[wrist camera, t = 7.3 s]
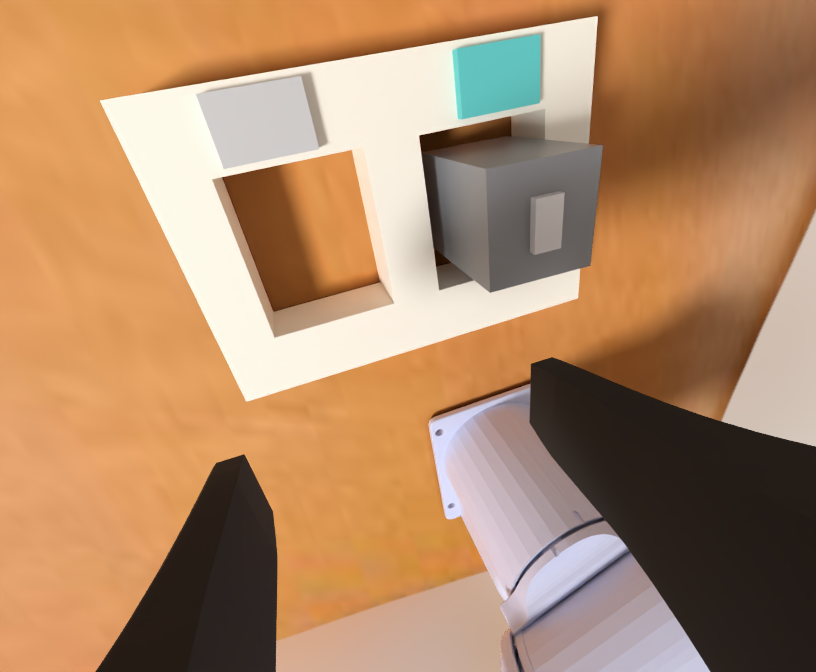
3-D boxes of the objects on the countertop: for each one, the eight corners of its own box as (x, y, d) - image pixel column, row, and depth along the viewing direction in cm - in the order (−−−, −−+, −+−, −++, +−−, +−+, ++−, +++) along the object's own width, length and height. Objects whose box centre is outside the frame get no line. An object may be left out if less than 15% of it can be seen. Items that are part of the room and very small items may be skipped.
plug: (506, 226, 20) (595, 268, 14) (429, 245, 19) (494, 296, 14) (505, 136, 17) (609, 145, 12) (419, 152, 17) (490, 170, 11)
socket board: (548, 280, 22) (583, 301, 19) (248, 369, 19) (246, 407, 16) (554, 28, 16) (606, 13, 14) (126, 102, 13) (94, 100, 11)
